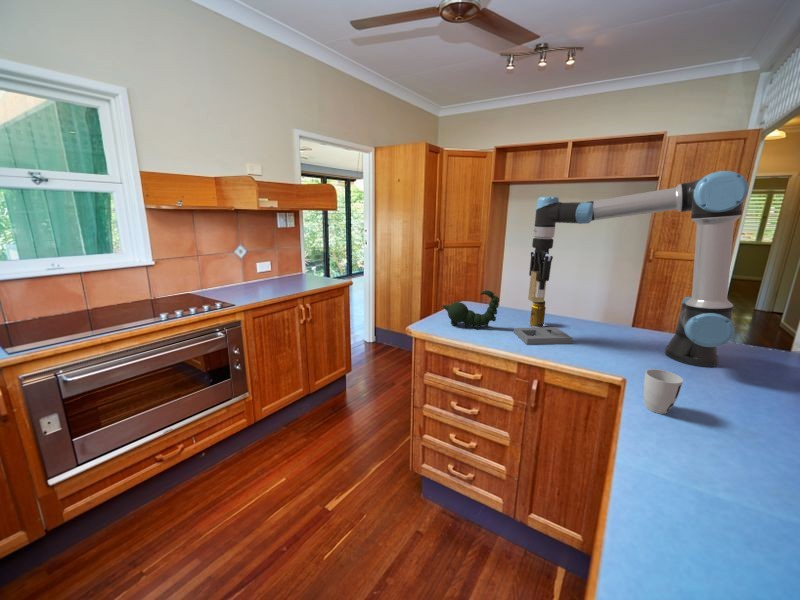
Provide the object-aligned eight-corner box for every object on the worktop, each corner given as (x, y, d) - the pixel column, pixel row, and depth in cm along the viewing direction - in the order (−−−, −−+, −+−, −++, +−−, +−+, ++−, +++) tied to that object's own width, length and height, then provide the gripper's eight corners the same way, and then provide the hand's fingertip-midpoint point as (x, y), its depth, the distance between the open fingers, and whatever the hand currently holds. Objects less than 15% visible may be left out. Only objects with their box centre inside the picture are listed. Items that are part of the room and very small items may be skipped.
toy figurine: (493, 329, 162) (440, 319, 168) (500, 290, 157) (446, 281, 163) (493, 335, 154) (437, 325, 159) (501, 294, 148) (443, 285, 154)
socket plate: (571, 343, 142) (572, 337, 141) (526, 344, 140) (527, 338, 139) (554, 332, 154) (555, 327, 153) (513, 333, 152) (514, 327, 152)
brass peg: (543, 302, 140) (547, 272, 137) (533, 302, 140) (536, 272, 137) (538, 299, 145) (541, 270, 142) (528, 299, 144) (531, 270, 141)
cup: (676, 420, 90) (685, 386, 88) (639, 411, 94) (646, 377, 92) (673, 406, 97) (680, 373, 94) (638, 398, 101) (644, 366, 98)
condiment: (526, 323, 167) (528, 298, 164) (542, 322, 168) (545, 298, 165) (534, 328, 160) (537, 302, 157) (551, 327, 161) (554, 302, 158)
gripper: (524, 236, 144) (518, 290, 150) (545, 239, 127) (537, 301, 133) (541, 236, 145) (535, 290, 151) (564, 239, 128) (556, 301, 134)
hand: (536, 295), depth 142 cm, fingers closed on brass peg, 4 cm apart
